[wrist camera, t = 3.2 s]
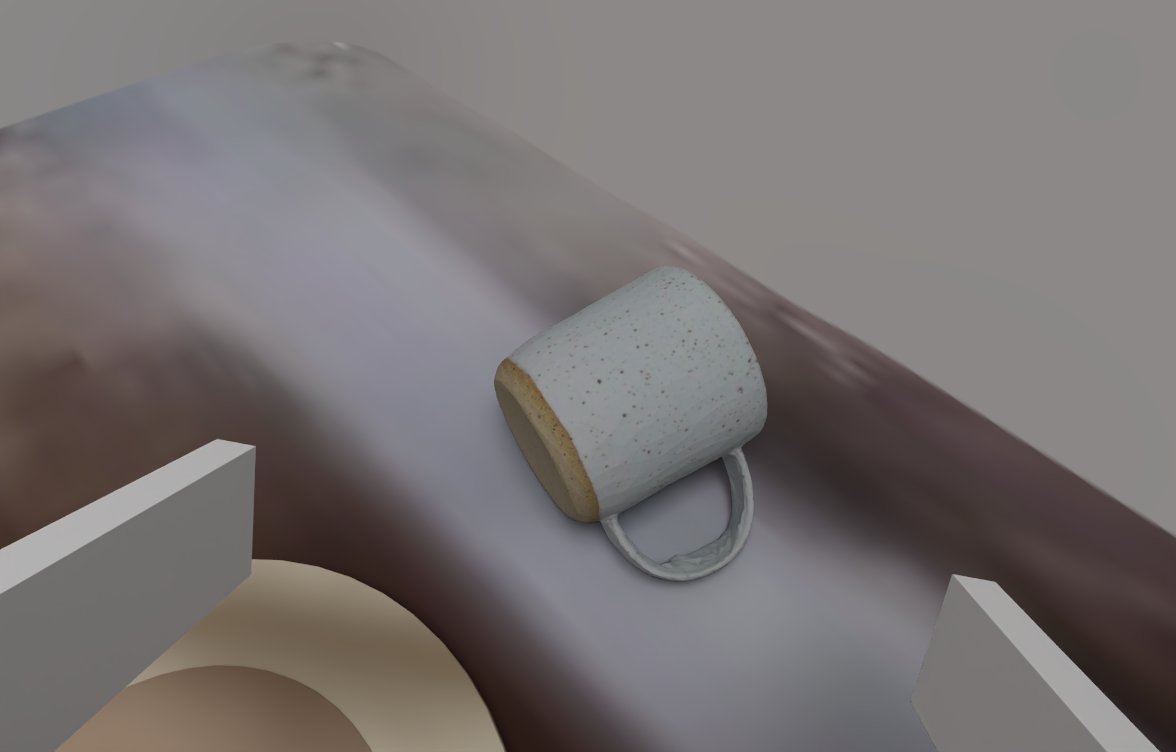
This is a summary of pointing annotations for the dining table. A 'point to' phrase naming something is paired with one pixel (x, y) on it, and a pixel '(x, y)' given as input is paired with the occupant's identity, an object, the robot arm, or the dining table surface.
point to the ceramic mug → (639, 407)
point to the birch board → (298, 678)
